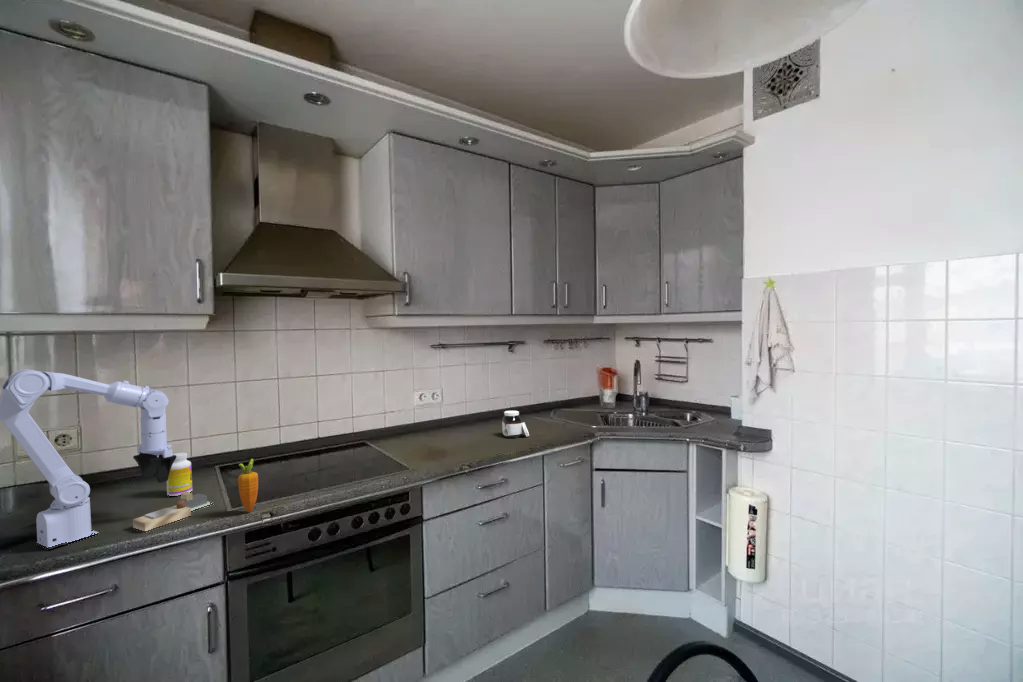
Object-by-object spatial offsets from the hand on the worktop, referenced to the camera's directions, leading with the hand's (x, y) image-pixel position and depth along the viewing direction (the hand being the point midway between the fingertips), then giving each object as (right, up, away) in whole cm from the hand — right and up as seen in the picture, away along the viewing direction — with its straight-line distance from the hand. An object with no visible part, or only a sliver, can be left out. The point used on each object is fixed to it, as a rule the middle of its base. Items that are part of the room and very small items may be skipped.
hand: (155, 480), depth 129 cm
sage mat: (+6, -10, +6) cm, 13 cm away
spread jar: (+103, -5, +83) cm, 133 cm away
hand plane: (+6, -10, -5) cm, 13 cm away
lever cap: (+6, -9, +6) cm, 13 cm away
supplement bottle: (-6, -10, +18) cm, 21 cm away
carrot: (+27, -10, 0) cm, 28 cm away
